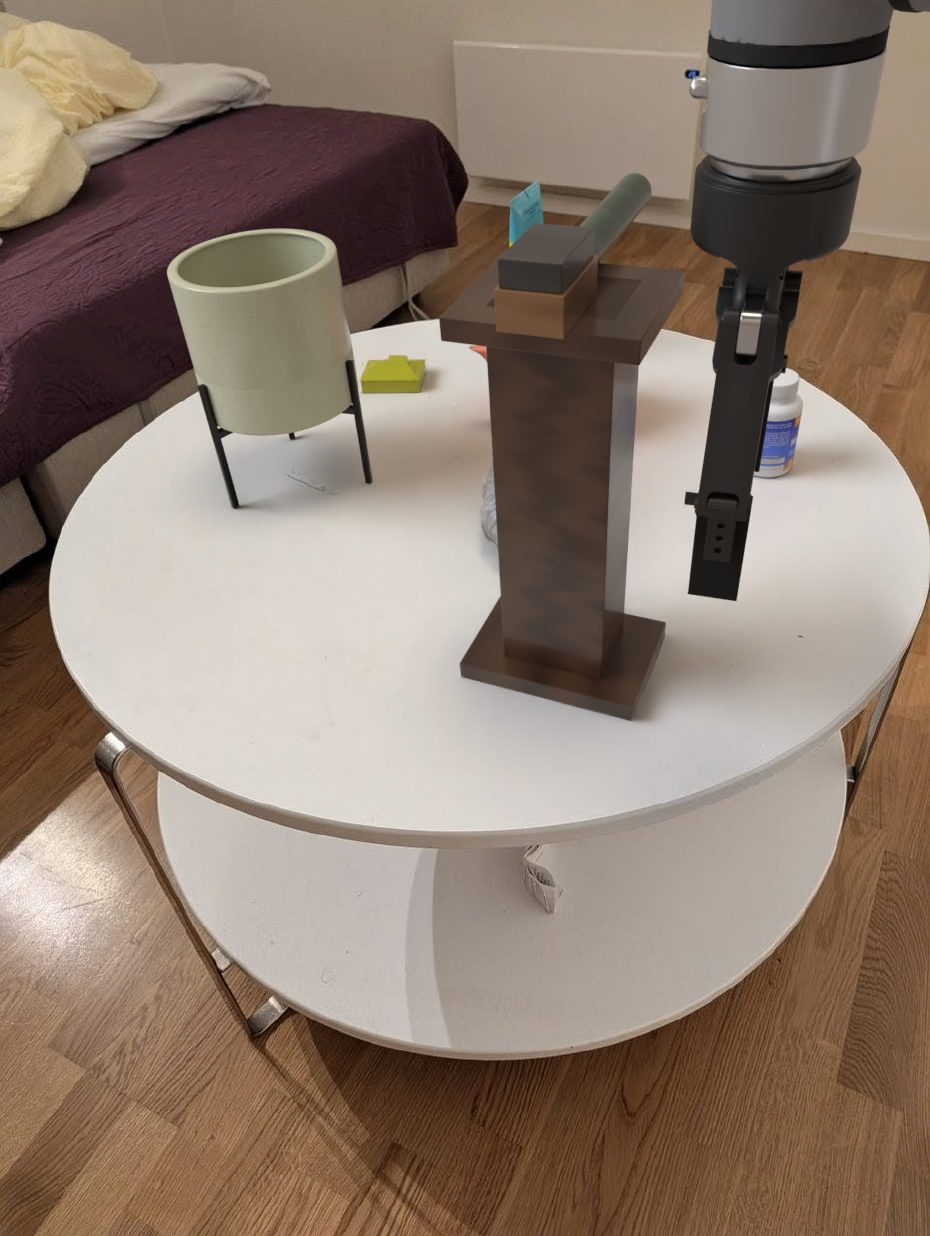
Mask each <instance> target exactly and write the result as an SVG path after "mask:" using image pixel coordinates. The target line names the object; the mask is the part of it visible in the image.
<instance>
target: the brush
mask: <svg viewBox="0 0 930 1236" xmlns="http://www.w3.org/2000/svg"><path fill="white" fill-rule="evenodd" d="M652 192H653V191H652V184H651V182H650V181H649V179H648V178H647V177H646V176H645V175H643V174H641V173H638V172H631V173H628V174H626V175H625V176H624V177H622V178H621V180H620V181H618V183H617V184H616V185H615V186H614V187H613V188H612V189H611V190H610V192H608V194H607V195H606V196H605V197H604V198H603V199H602V201H600V203H599V204H598V205H597V206H596V207H595V208H594V210H592V211H591V213H590V214H589V215H588V216H587V217H586V218H585V219H584V220H583V221H582V222H581V223H580V224H579V226H577V225H565V224H553V223H551V224H550V223H544V224H539V223H534V224H533V225H532V226H531V227H530V228H529V229H528V230H527V231H526V232H525V233H524V234H522V235H521V236H520V237H519V238H518V239H517V240H516V241H515V242H514V243H513V244H512V245H511V246H510V247H508V248H507V249H506V250H505V251H504V252H503V253H502V254H501V255H500V256H499V257H497V260H498V278H499V285H498V286H497V287H496V288H495V289H494V298H495V318H496V331H497V332H505V333H513V334H522V335H530V336H539V337H547V338H556V339H565V337H566V336H567V335H568V333H569V332H570V331H571V329H572V328H573V327H574V325H575V324H576V323H577V321H578V320H579V319H580V318H581V316H582V315H583V314H584V312H585V311H586V310H587V308H588V307H589V306H590V304H591V303H592V302H593V300H594V299H595V298H596V297H597V274H598V264H599V263H601V262H602V261H603V260H604V258H605V257H606V256H607V254H608V253H609V252H610V251H611V249H612V248H613V247H614V246H615V244H616V243H617V242H618V240H619V239H620V238H621V237H622V236H623V234H624V233H625V231H627V229H628V228H629V227H630V225H631V224H632V223H633V222H634V221H635V220H636V219H637V217H638V216H639V215H640V213H641V212H642V211H643V210H644V208H645V207H646V206H647V204H649V202H650V200H651V197H652Z"/></svg>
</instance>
